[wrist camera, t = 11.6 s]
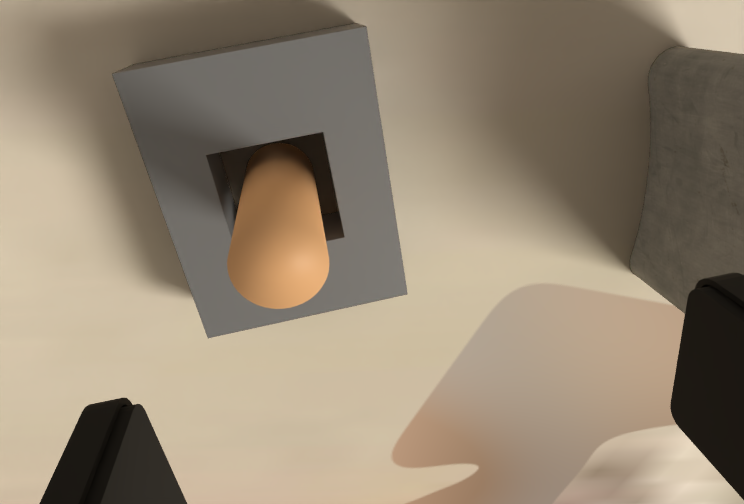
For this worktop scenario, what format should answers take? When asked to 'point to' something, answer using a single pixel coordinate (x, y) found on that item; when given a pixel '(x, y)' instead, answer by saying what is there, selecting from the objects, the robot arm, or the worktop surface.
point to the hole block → (259, 126)
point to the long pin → (278, 231)
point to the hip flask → (693, 173)
